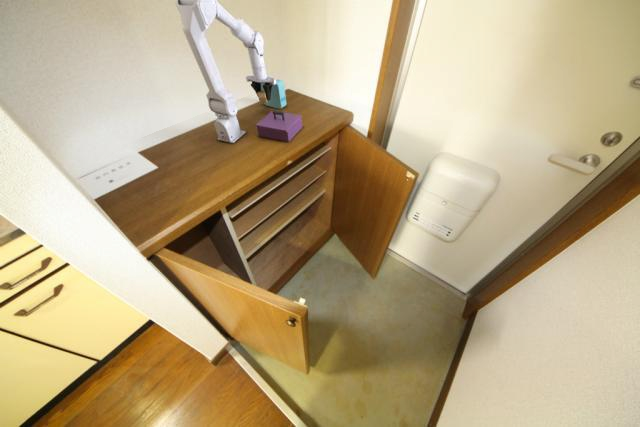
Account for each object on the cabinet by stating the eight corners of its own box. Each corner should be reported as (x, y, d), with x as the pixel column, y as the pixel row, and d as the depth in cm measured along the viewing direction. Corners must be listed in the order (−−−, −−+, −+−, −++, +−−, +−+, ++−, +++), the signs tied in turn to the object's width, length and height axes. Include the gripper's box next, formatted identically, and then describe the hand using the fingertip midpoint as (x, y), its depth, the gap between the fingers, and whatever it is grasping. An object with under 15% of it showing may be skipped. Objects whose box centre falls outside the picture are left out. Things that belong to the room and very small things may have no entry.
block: (266, 102, 104) (264, 93, 101) (259, 101, 105) (257, 92, 102) (270, 99, 107) (269, 90, 104) (263, 98, 108) (261, 89, 105)
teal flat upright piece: (287, 106, 114) (283, 80, 105) (281, 109, 111) (277, 83, 102) (269, 101, 118) (264, 76, 109) (263, 105, 116) (258, 79, 107)
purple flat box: (288, 142, 91) (287, 131, 87) (258, 136, 94) (256, 125, 91) (302, 127, 99) (301, 116, 95) (274, 122, 103) (272, 112, 99)
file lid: (286, 132, 87) (285, 122, 84) (255, 126, 90) (253, 116, 87) (301, 116, 95) (300, 107, 92) (272, 111, 99) (270, 102, 96)
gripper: (277, 65, 96) (282, 98, 106) (249, 62, 100) (256, 94, 110) (269, 70, 92) (275, 103, 102) (240, 67, 95) (248, 99, 106)
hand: (264, 99), depth 105 cm, fingers closed on block, 4 cm apart
